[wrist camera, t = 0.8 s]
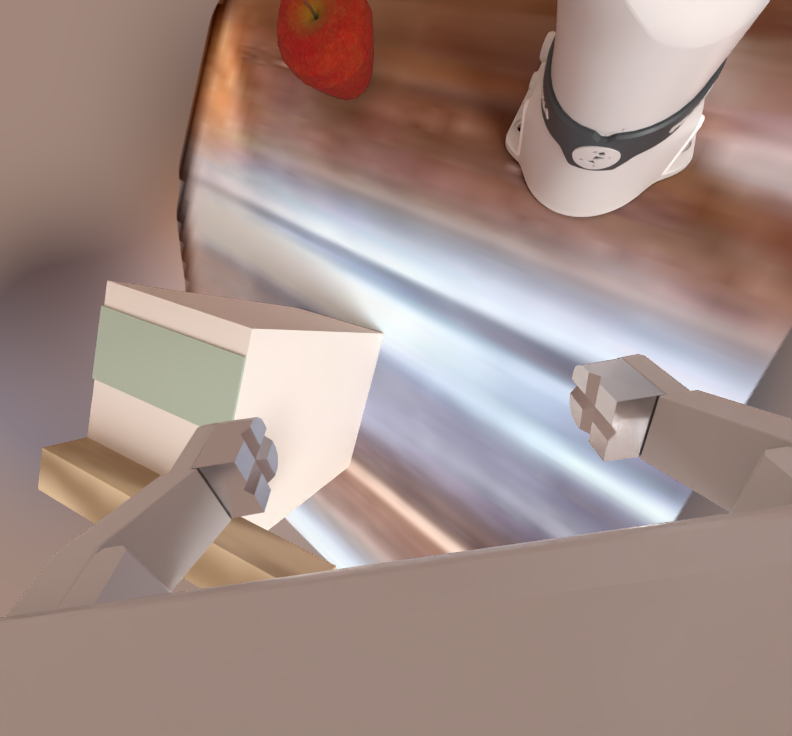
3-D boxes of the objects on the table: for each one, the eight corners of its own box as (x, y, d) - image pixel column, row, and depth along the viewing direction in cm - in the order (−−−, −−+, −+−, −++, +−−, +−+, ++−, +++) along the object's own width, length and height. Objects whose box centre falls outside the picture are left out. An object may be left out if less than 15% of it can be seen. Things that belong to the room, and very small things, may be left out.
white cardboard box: (298, 307, 52) (104, 280, 27) (384, 333, 48) (249, 328, 23) (270, 432, 55) (75, 509, 30) (349, 466, 52) (199, 584, 27)
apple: (406, 93, 45) (370, 9, 33) (336, 141, 48) (282, 80, 37) (374, 16, 45) (328, -93, 34) (307, 69, 49) (245, -14, 37)
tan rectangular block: (87, 437, 30) (42, 447, 27) (335, 566, 23) (311, 597, 20) (82, 474, 30) (38, 488, 27) (323, 610, 24) (298, 648, 21)
